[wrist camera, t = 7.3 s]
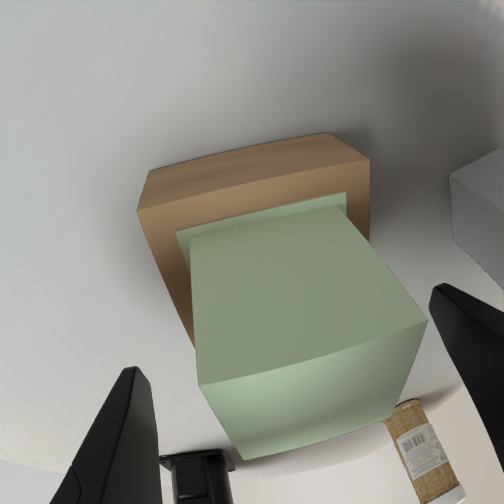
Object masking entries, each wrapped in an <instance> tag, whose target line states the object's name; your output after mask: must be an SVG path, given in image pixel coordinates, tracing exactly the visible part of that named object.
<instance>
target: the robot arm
mask: <svg viewBox="0 0 504 504" xmlns="http://www.w3.org/2000/svg"><path fill="white" fill-rule="evenodd" d="M429 311H430V314H431V316H432V318H433V320H434V322H435V325H436V327H437V329H438V331H439V334H440V336H441V338H442V341H443V343H444V345H445V347H446V350H447V352H448V354H449V356H450V357H451V359H452V361H453V363H454V365H455V367H456V369H457V370H458V372H459V374H460V376H461V378H462V380H463V382H464V384H465V386H466V388H467V390H468V392H469V394H470V396H471V398H472V400H473V402H474V404H475V406H476V408H477V411H478V413H479V415H480V417H481V419H482V421H483V423H484V426H485V428H486V430H487V432H488V435H489V437H490V439H491V442H492V444H493V447H494V449H495V452H496V454H497V457H498V459H499V462H500V464H501V467H502V470H503V472H504V312H502V311H500V310H498V309H496V308H494V307H492V306H490V305H489V304H487V303H485V302H483V301H481V300H479V299H477V298H475V297H473V296H471V295H469V294H467V293H465V292H463V291H461V290H459V289H457V288H455V287H453V286H451V285H449V284H447V283H442V284H439V285H437V286H435V287H434V288H433V291H432V294H431V298H430V302H429ZM159 464H161V465H162V466H164V467H165V468H166V469H168V470H169V471H170V472H171V477H172V489H173V499H174V504H233V498H232V493H231V488H230V482H229V476H228V472H231V471H235V466H234V465H233V463H232V462H231V461H230V460H229V459H228V457H227V456H226V455H225V454H224V452H223V451H221V450H216V451H209V452H203V453H196V454H188V455H180V456H170V457H160V458H159V450H158V434H157V426H156V420H155V413H154V406H153V399H152V392H151V386H150V383H149V381H148V380H147V378H146V377H145V376H144V374H143V373H142V371H141V370H140V369H139V368H138V367H137V366H133V367H127V368H124V369H123V370H122V372H121V374H120V375H119V377H118V379H117V381H116V382H115V384H114V386H113V388H112V389H111V391H110V393H109V395H108V397H107V398H106V400H105V402H104V404H103V406H102V407H101V409H100V411H99V413H98V415H97V417H96V418H95V420H94V422H93V424H92V426H91V428H90V429H89V431H88V433H87V435H86V437H85V439H84V441H83V443H82V444H81V446H80V448H79V450H78V452H77V454H76V456H75V458H74V460H73V462H72V466H70V467H69V469H68V471H67V473H66V476H65V477H64V479H63V481H62V483H61V485H60V487H59V488H58V490H57V492H56V493H55V495H54V497H53V498H52V500H51V502H50V503H49V504H163V502H162V493H161V492H162V491H161V480H160V466H159Z"/></svg>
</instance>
